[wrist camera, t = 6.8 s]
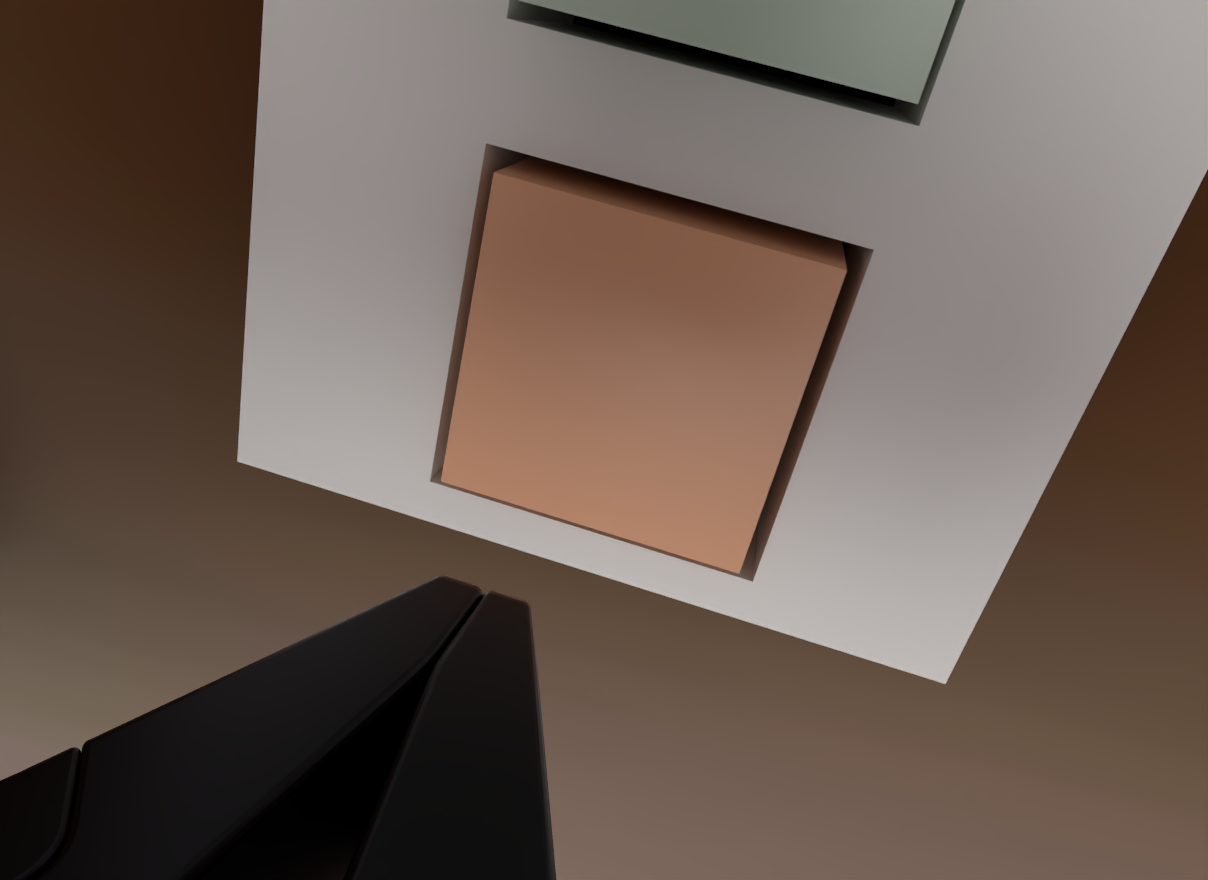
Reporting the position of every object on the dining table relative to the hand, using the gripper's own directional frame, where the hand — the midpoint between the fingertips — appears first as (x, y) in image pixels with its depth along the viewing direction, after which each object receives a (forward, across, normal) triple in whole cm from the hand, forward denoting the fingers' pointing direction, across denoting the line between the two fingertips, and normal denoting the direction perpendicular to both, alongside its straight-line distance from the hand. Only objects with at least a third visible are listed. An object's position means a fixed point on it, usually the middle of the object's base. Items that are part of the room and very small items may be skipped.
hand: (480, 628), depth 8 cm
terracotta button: (+10, 0, 0) cm, 10 cm away
